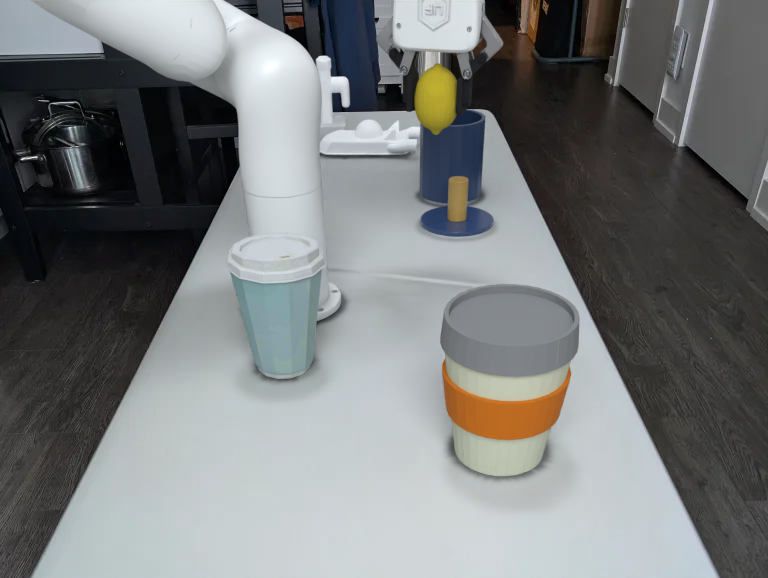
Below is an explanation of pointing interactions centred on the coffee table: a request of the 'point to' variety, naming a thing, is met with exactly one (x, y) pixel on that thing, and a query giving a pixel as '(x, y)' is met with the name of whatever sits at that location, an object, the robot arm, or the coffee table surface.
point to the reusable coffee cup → (506, 373)
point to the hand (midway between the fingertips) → (436, 109)
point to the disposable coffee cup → (278, 298)
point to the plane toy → (371, 140)
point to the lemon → (436, 98)
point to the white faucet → (329, 87)
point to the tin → (452, 156)
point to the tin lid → (457, 213)
